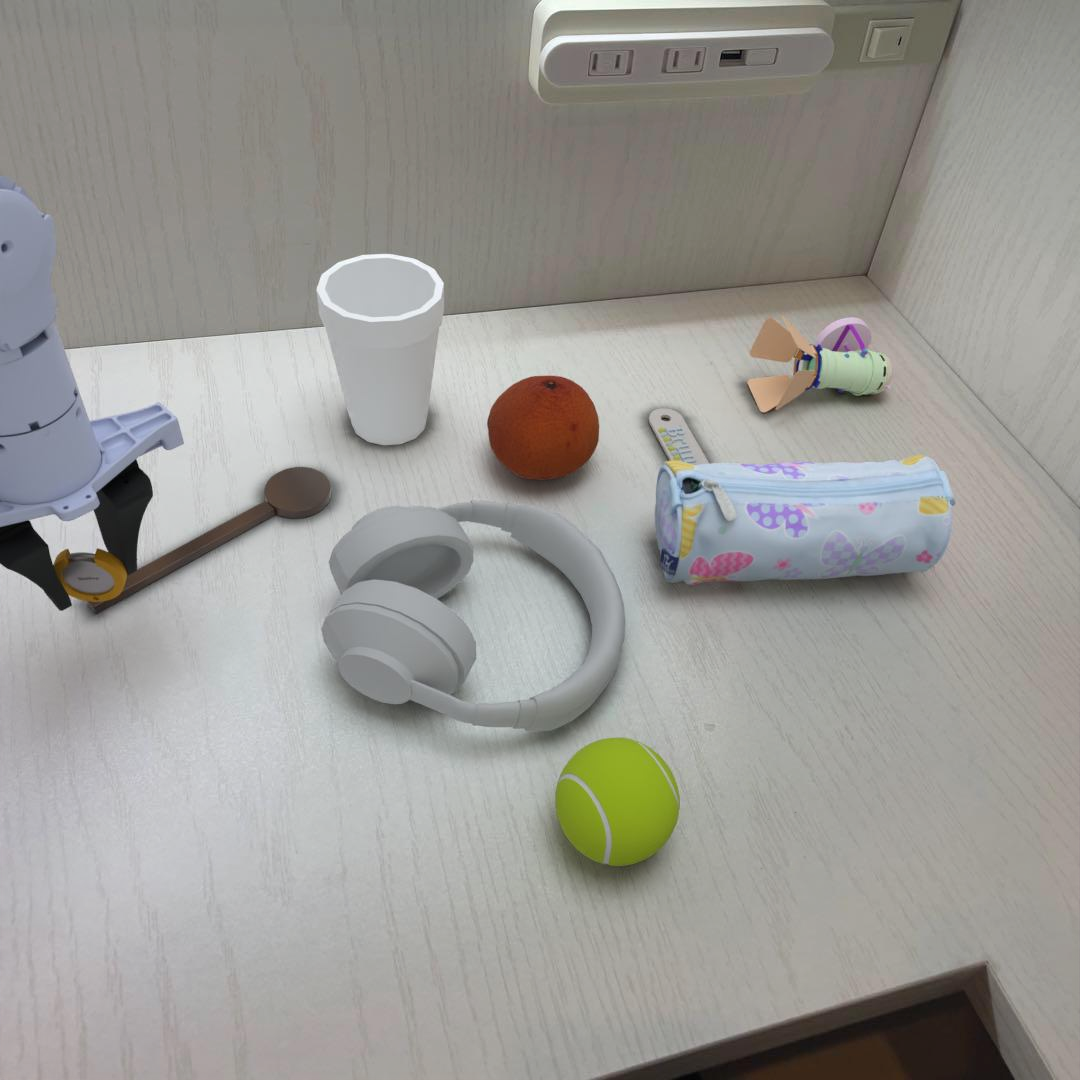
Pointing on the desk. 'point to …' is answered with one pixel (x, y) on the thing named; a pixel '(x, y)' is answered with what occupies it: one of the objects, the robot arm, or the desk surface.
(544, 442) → the fruit
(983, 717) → the desk surface
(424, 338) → the foam cup
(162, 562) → the spoon
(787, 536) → the pencil case
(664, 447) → the keychain
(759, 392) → the spotlight
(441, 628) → the headphones
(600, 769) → the tennis ball
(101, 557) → the tracker
